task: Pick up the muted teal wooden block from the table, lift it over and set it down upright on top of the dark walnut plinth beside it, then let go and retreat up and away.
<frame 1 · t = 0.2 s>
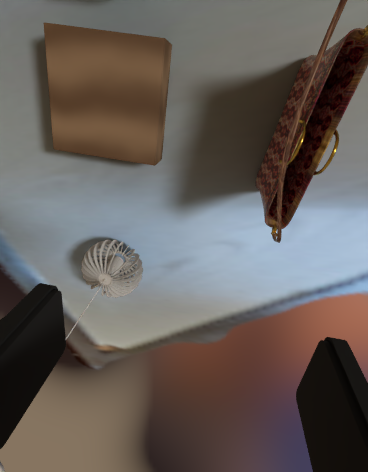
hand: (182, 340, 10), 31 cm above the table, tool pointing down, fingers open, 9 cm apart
handbag: (278, 109, 34), on the table
walnut plinth: (115, 99, 36), on the table
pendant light: (119, 258, 47), on the table
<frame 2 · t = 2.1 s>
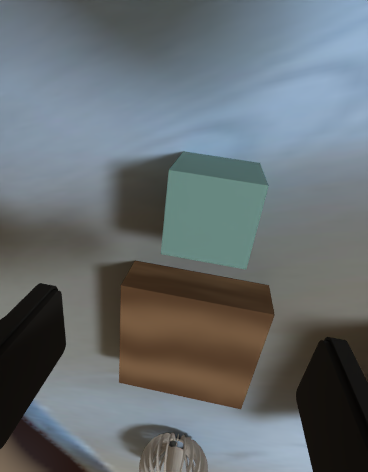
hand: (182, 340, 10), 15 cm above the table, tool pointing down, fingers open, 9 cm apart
teal block: (214, 193, 24), on the table
walnut plinth: (191, 322, 30), on the table
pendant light: (177, 441, 41), on the table
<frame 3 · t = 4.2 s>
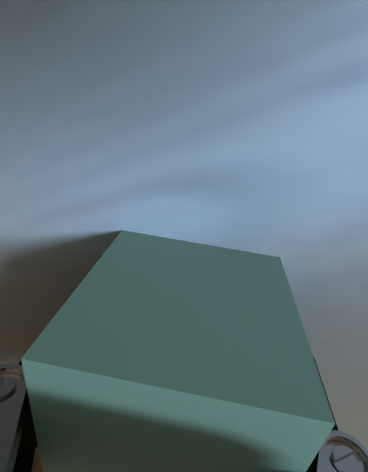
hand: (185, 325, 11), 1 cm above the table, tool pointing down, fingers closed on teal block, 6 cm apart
teal block: (189, 305, 12), on the table, touching gripper
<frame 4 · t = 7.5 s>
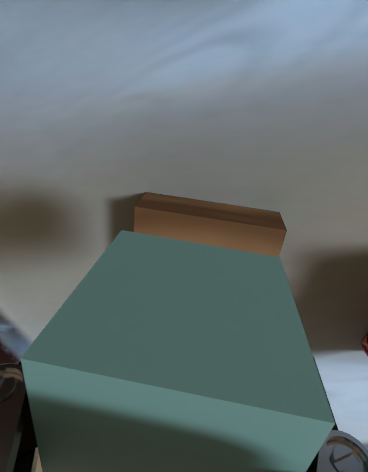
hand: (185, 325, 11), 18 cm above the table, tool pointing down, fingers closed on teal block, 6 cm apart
teal block: (188, 305, 12), point 17 cm above the table, touching gripper
walnut plinth: (202, 258, 31), on the table
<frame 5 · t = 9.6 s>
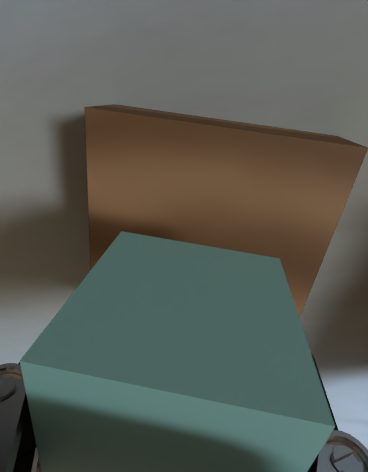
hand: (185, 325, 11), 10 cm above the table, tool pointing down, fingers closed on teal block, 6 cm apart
teal block: (188, 306, 12), point 9 cm above the table, touching gripper
walnut plinth: (205, 221, 20), on the table
when the fingers open (7 cm above the table, at t = 11.1 s): teal block drops 1 cm, resting on walnut plinth.
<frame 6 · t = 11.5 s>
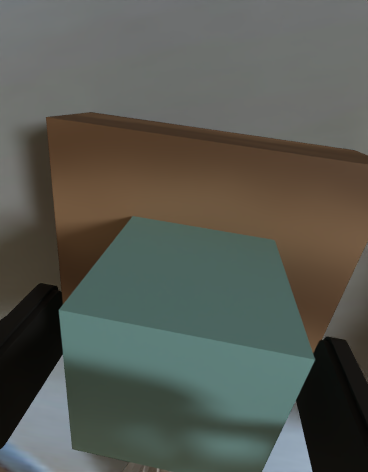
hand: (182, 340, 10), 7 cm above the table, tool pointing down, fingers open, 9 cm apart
teal block: (192, 285, 13), point 4 cm above the table, touching walnut plinth
walnut plinth: (199, 246, 17), on the table
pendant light: (174, 458, 28), on the table
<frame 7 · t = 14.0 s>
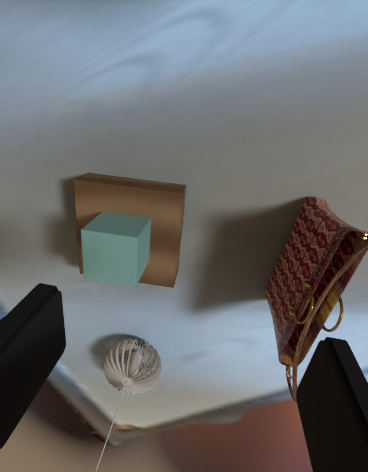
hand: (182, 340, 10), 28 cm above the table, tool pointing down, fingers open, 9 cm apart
handbag: (283, 234, 38), on the table
teal block: (126, 236, 36), point 4 cm above the table, touching walnut plinth
walnut plinth: (135, 225, 40), on the table
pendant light: (138, 350, 49), on the table
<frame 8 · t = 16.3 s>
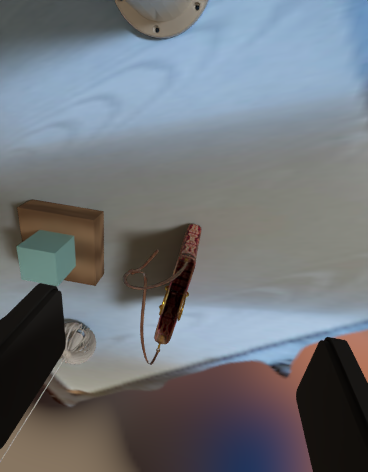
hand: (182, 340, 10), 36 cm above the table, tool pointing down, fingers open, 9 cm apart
handbag: (177, 249, 51), on the table
teal block: (58, 248, 49), point 4 cm above the table, touching walnut plinth
walnut plinth: (69, 238, 53), on the table
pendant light: (80, 331, 63), on the table
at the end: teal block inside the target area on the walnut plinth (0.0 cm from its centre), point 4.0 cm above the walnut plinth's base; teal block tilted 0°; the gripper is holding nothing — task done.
